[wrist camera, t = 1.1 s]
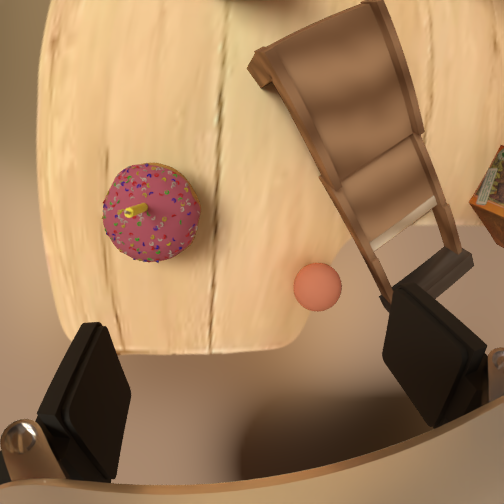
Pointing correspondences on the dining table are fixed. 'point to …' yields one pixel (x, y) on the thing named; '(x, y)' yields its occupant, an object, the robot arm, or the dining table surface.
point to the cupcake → (151, 212)
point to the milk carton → (492, 198)
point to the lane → (365, 135)
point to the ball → (317, 287)
